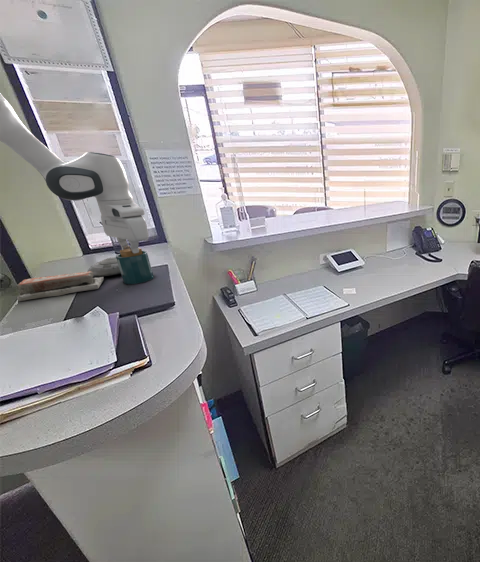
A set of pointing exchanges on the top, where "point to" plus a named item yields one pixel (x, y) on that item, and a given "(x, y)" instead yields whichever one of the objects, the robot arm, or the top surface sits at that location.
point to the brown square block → (129, 253)
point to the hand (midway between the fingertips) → (131, 251)
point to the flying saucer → (105, 267)
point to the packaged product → (57, 285)
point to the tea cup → (135, 268)
